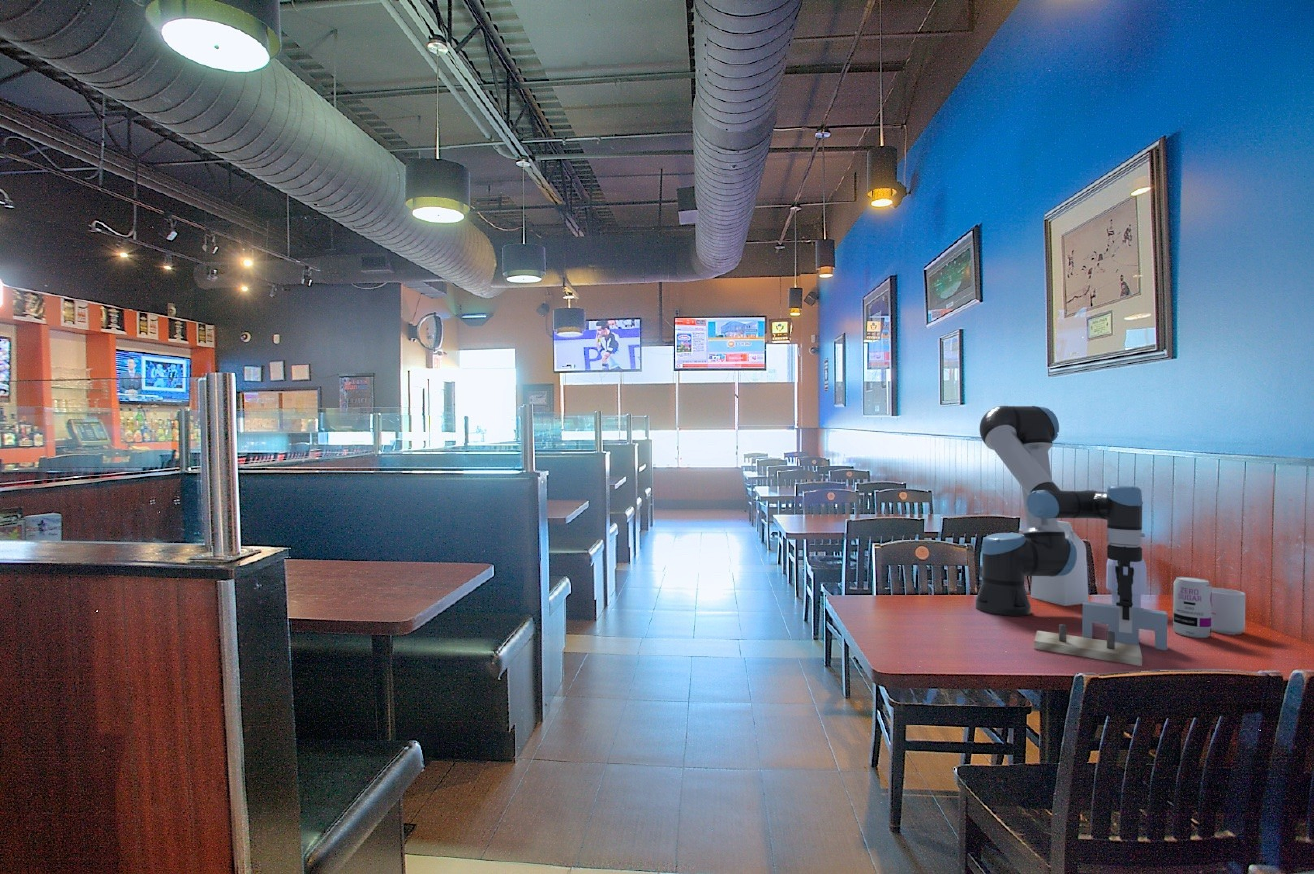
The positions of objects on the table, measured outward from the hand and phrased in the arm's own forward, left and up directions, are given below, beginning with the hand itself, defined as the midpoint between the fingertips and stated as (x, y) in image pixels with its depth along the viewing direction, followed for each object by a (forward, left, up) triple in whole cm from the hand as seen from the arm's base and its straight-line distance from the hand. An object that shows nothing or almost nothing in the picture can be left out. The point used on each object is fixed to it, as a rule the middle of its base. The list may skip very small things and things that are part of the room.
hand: (1124, 626), depth 174 cm
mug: (+23, +31, -4) cm, 39 cm away
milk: (-16, +44, -4) cm, 47 cm away
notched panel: (0, 0, -4) cm, 4 cm away
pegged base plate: (-8, -15, -4) cm, 17 cm away
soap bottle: (+2, +43, -4) cm, 44 cm away
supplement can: (+16, +20, -4) cm, 26 cm away
